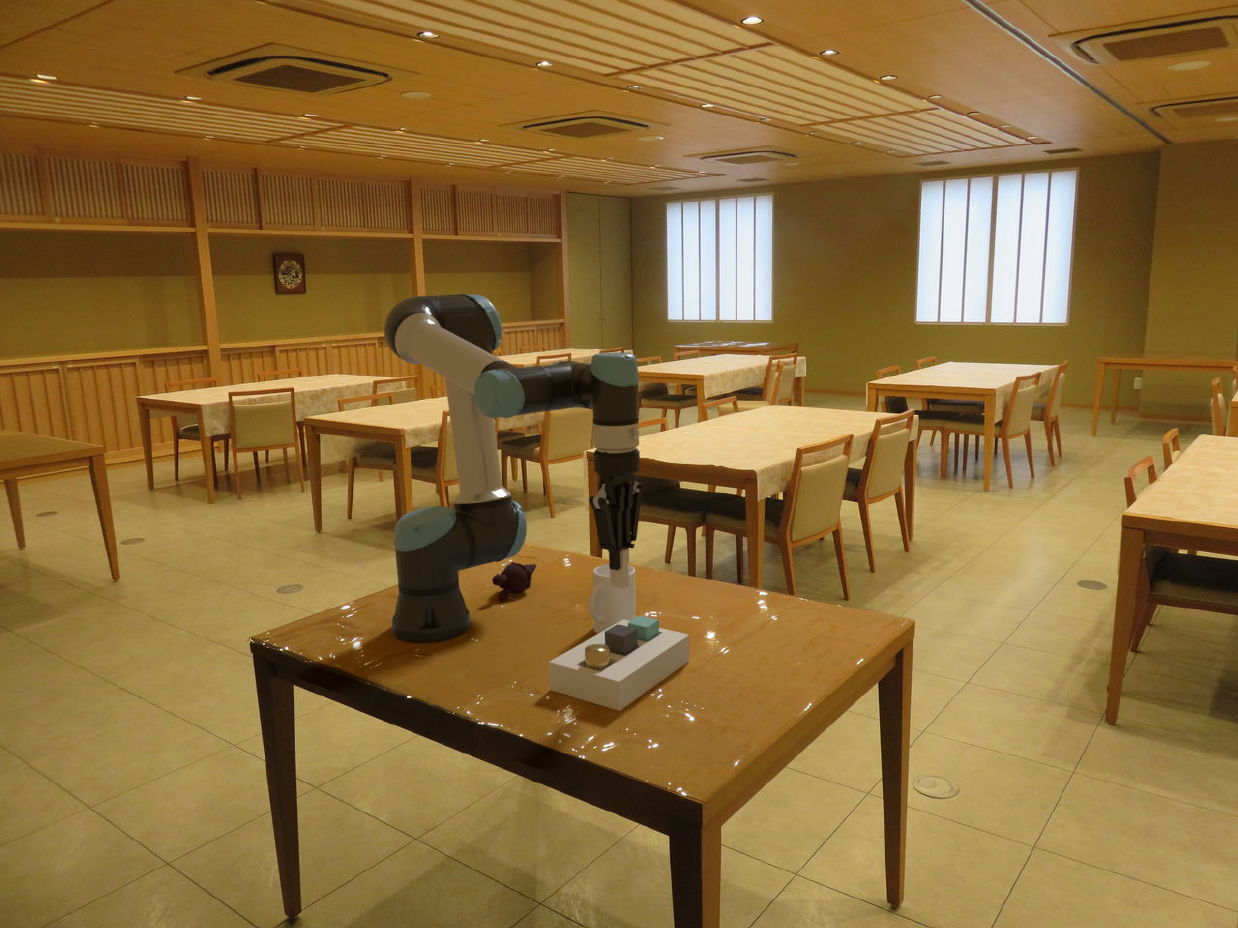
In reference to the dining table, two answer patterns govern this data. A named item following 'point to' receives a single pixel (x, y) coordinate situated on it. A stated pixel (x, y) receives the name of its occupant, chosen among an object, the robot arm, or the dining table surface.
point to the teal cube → (645, 628)
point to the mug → (611, 599)
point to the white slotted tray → (619, 669)
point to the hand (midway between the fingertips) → (619, 585)
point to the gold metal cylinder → (597, 657)
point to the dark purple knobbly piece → (514, 579)
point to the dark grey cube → (621, 639)
